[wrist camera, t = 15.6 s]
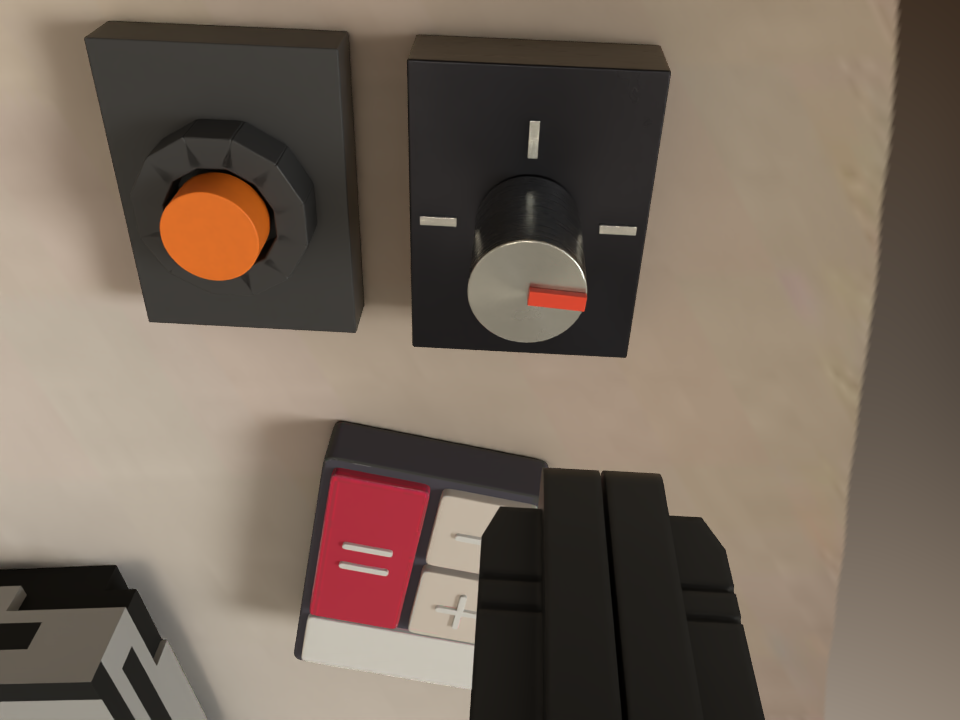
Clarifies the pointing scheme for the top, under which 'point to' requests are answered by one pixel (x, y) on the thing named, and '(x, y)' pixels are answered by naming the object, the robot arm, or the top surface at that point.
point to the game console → (85, 650)
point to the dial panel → (531, 171)
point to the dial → (527, 261)
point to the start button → (215, 226)
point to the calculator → (403, 552)
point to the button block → (238, 163)
